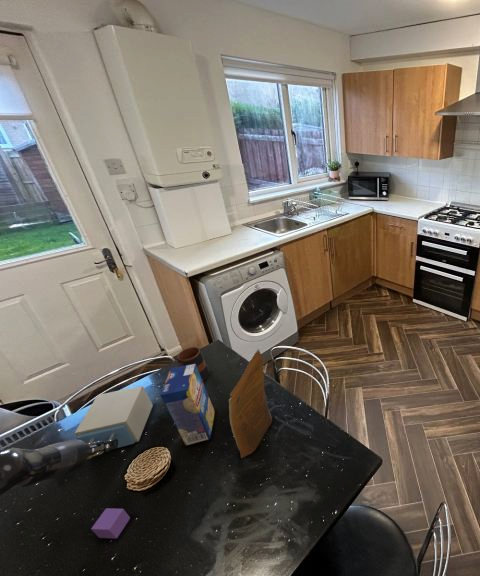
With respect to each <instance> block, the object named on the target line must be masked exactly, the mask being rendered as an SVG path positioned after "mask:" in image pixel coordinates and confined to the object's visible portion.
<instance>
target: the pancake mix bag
mask: <svg viewBox="0 0 480 576" xmlns="http://www.w3.org/2000/svg"><path fill="white" fill-rule="evenodd" d="M265 382H266V381H265V373H264V359H263V356H262V353H261V351H260V349H259V348H258V349H257V350H256V352H255V353H254V355H253V356H252V358H251V359H250V361H249V363H248V364H247V366H246V368H245V370H244V372H243V374H242V375H241V377H240V378H239V380H238V382H237V383H236V384H235V386H234V387H233V389H232V390H231V392H230V393H229V396H230V397H229V399H228V411H229V412H228V413H229V414H228V415H229V425H230V427H231V432H232V434H233V437H234V440H235V443H236V446H237V449H238V451H239V454H240V458H241V459H243V458H245V457H247V456H249V455H251V454H252V453H254V452H255V451H256V450H257V448H258V446H259V445H260V444H261V442H262V440H263V438H264V437H265V434H266V433H267V431H268V429H269V428H270V426H271V425H272V423H273V417H272V414H271V412H270V410H269V405H268V400H267V396H266V392H265Z"/></svg>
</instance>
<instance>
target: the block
mask: <svg viewBox="0 0 480 576" xmlns="http://www.w3.org/2000/svg"><path fill="white" fill-rule="evenodd" d="M130 519H131V517H130V515H129V514H128V513H127V512H126V510H125V509H124V508H109V507H108V508H105V509H104V510H103V512H102V513H101V514H100V516H99V517H98V519H97V520H96V521H95V522H94V524H93V525H92V526H91V528H90V530H91V531H92V532H93V533H94V534H95V535H96V536H97V538H99V539H118V538H119V536H120V535H121V533H122V532H123V530H124V529H125V527H126V525H128V523H129V521H130Z"/></svg>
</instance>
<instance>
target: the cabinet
mask: <svg viewBox="0 0 480 576" xmlns="http://www.w3.org/2000/svg"><path fill="white" fill-rule="evenodd" d="M153 406H154V405H153V403H152V401H151V399H150V397H149V396H148V393H147V392H146V390H145V388H144V386H143V385H139V386H135V387H134V386H133V387H130V388H124V389H120V390H115V391H110V392H105V393H101V394H96V397H95V398H94V400H93V402H92V403H91V405H90V407H89V408H88V410H87V412H86V413H85V415H84V416H83V418H82V420H81V422H80V423H79V425H78V426H77V428H76V430H75V432H74V435H75V436H76V437H77V436H78V435H79V434H84V433H86V432H90V431H95V430H99V429H103V428H108V427H112V426H116V425H120V424H125V425H126V427H127V428H128V430H129V431H130V433H131V435H132V436H133V438H134V439H135V442H134V444H136V443H139V441H140V440H141V436H142V434H143V431H144V429H145V426H146V424H147V422H148V419H149V416H150V414H151V411H152V409H153Z"/></svg>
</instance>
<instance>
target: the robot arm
mask: <svg viewBox="0 0 480 576" xmlns="http://www.w3.org/2000/svg"><path fill="white" fill-rule="evenodd" d="M94 444H96V445H94ZM103 444H104V445H103ZM91 445H92V446H91ZM117 449H119V448H118V439H114V440H107V441H105V442H103V441H98V442H94V443H85V442H84V441H82V440H78V439H77V438H75V439H69V440H63V441H59V442H56V443H52V444H48V445H45V446H43V447H38V448H35V449H30V448H19V447H12V448H8V449H5V450H4V449H3V450H2V451H0V497H1V496H3V495H4V494H5V493H7V492H8V491H9V490H11V489H13V488H17V489H18V488H19V489H20V488H25V487H29V486H33V485H35V484H38V483H40V482H44V481H49V480H53V479H55V478H58V477H61V476H64V475H66V474H69V473H72V472H74V471H77V470H78V469H79V468H81V467H82V466H83V465H84V464H85V462H86V461H87V460H89V459H92V458H93V457H97V456H100V455H102V454H103V453H108V452H110V451H112V450H113V451H114V450H117Z"/></svg>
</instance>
